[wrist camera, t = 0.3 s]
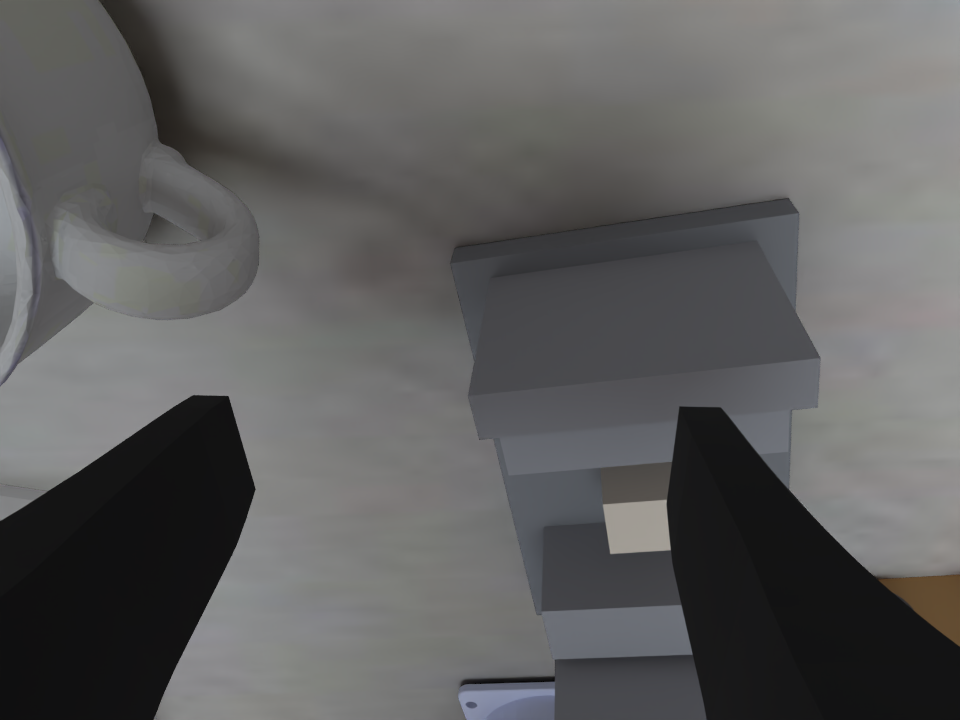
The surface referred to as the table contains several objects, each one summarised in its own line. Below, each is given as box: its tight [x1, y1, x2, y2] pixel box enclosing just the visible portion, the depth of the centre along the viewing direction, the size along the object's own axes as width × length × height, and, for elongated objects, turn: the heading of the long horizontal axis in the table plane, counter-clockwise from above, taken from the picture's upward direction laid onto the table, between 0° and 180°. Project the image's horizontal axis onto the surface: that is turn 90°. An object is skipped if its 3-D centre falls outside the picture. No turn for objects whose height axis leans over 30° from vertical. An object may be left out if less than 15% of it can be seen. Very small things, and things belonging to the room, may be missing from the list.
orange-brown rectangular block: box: [878, 575, 960, 646], centre depth 25 cm, size 10×3×4 cm, turn 102°
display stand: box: [450, 199, 821, 720], centre depth 21 cm, size 15×9×6 cm, turn 11°
